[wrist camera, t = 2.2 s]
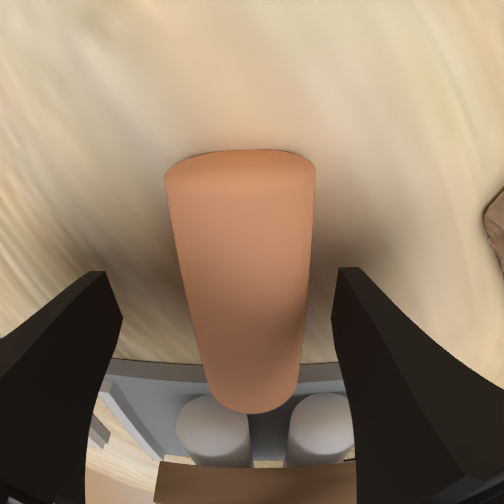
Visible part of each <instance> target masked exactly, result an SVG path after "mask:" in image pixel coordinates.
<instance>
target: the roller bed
mask: <svg viewBox="0 0 504 504" xmlns="http://www.w3.org/2000/svg"><path fill="white" fill-rule="evenodd" d="M0 340H1V339H0ZM98 395H99V396H100V398H101V399H102V400H103V402H104V403H105V404H106V405H107V407H108V408H109V409H110V411H111V412H112V413H113V414H114V416H115V417H116V418H117V419H118V421H119V422H120V423H121V424H122V425H123V427H124V428H125V429H126V430H127V431H128V433H129V434H130V435H131V436H132V437H133V438H134V439H135V441H136V442H137V443H138V444H139V445H140V446H141V447H142V448H143V450H144V451H145V452H146V453H147V454H148V455H149V456H150V457H151V458H152V459H153V460H158V461H163V460H164V455H165V454H167V455H175V456H183V457H191V458H192V460H193V461H194V463H195V464H196V465H198V466H210V467H227V468H254V463H253V461H261V460H284V465H283V468H288V467H305V466H317V465H327V464H336V463H341V462H342V461H343V459H344V458H345V457H346V455H347V454H348V452H349V451H350V449H351V447H352V446H353V444H354V435H353V425H352V418H351V412H350V407H349V403H348V398H347V394H346V390H345V386H344V382H343V378H342V374H341V370H340V366H339V362H338V363H325V364H308V365H300V367H299V375H298V382H297V386H296V389H295V391H294V392H293V394H292V395H291V397H290V398H289V399H288V400H287V401H286V402H285V403H283V404H282V405H281V406H279V407H277V408H275V409H273V410H271V411H267V412H264V413H258V414H246V413H240V412H236V411H233V410H231V409H228V408H226V407H225V406H223V405H222V404H221V403H219V402H218V401H217V400H216V399H215V398H214V396H213V395H212V393H211V391H210V389H209V385H208V382H207V378H206V374H205V371H204V367H203V365H183V364H166V363H153V362H141V361H131V360H121V359H113V358H111V361H110V364H109V366H108V369H107V371H106V374H105V377H104V380H103V382H102V385H101V388H100V391H99V393H98ZM109 437H110V433H109V431H108V430H107V429H106V428H105V427H104V426H103V425H102V424H101V423H100V422H99V421H98V419H97V418H96V417H95V416H94V415H92V420H91V425H90V430H89V436H88V442H89V443H90V444H91V445H92V446H93V447H95V448H99V449H103V447H104V444H105V443H107V444H108V441H109Z"/></svg>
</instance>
